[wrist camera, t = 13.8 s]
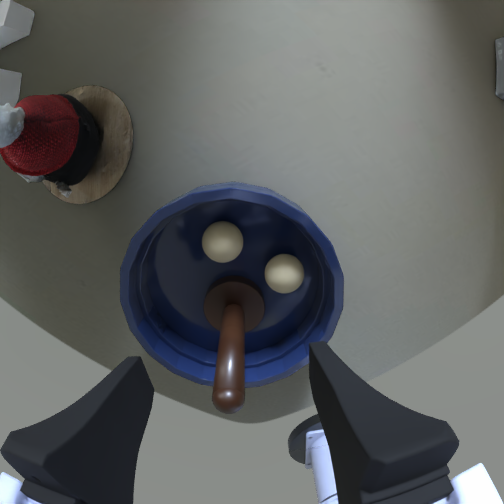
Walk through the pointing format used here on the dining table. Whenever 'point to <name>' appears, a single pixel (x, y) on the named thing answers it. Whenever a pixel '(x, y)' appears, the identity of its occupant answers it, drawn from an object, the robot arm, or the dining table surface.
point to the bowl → (208, 271)
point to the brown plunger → (232, 335)
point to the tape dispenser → (4, 33)
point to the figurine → (68, 141)
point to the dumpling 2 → (284, 273)
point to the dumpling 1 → (222, 241)
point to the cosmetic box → (500, 67)
